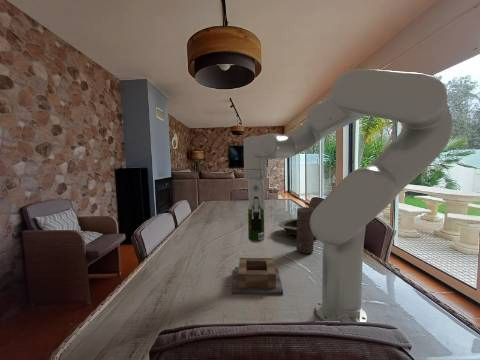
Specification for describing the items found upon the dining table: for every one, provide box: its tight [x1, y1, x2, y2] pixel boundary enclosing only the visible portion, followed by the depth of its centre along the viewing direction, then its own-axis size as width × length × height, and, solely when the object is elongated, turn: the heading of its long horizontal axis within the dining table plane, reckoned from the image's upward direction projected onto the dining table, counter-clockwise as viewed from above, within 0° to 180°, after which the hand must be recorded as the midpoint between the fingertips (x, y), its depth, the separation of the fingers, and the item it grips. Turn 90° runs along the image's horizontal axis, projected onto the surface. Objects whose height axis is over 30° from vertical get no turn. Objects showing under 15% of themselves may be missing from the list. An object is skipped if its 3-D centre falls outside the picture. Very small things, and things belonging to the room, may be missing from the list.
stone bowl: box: [277, 218, 317, 240], centre depth 126 cm, size 25×25×9 cm
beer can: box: [247, 205, 265, 244], centre depth 78 cm, size 5×5×12 cm
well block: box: [231, 257, 284, 296], centre depth 80 cm, size 16×16×6 cm
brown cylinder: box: [295, 206, 315, 254], centre depth 103 cm, size 8×7×20 cm
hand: (256, 227), depth 78 cm, fingers closed on beer can, 5 cm apart
